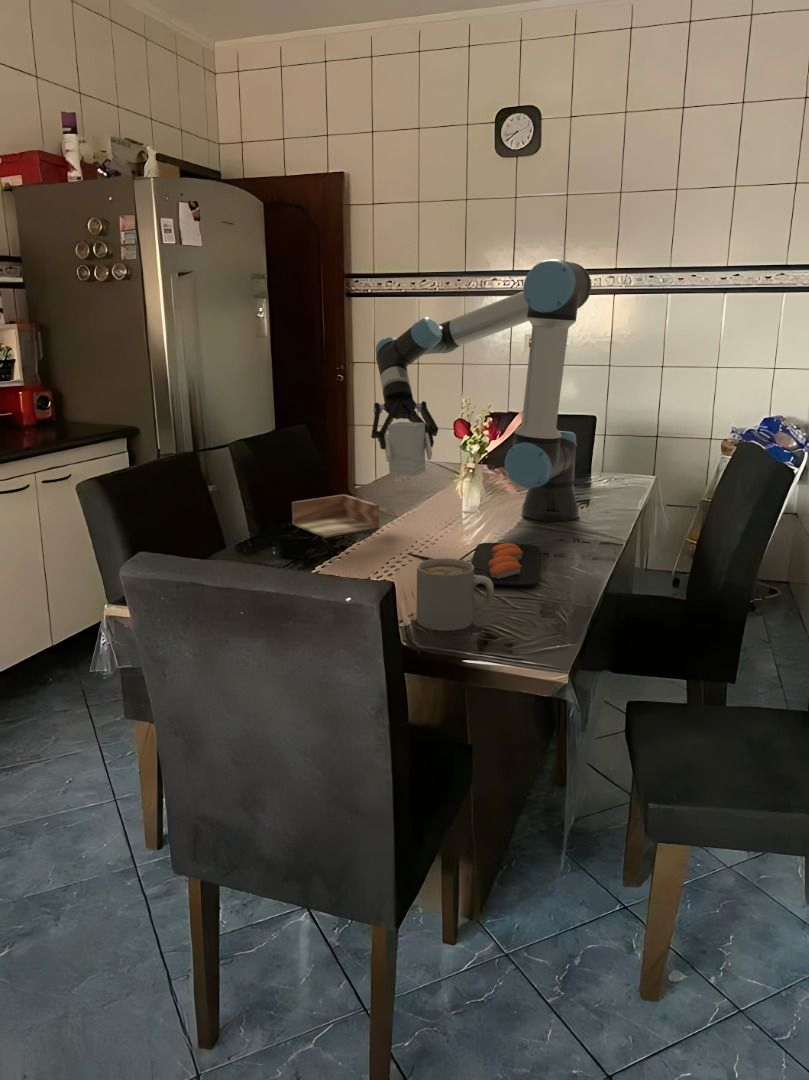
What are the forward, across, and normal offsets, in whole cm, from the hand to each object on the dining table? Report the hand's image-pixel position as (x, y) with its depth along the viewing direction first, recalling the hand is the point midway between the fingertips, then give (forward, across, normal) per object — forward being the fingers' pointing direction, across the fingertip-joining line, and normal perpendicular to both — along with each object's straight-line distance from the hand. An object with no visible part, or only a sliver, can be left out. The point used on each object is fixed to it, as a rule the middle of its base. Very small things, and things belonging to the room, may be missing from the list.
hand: (409, 457), depth 200 cm
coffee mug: (+60, +6, +34) cm, 69 cm away
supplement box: (+1, 0, -6) cm, 6 cm away
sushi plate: (+38, -6, +11) cm, 40 cm away
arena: (+9, +19, -15) cm, 26 cm away
